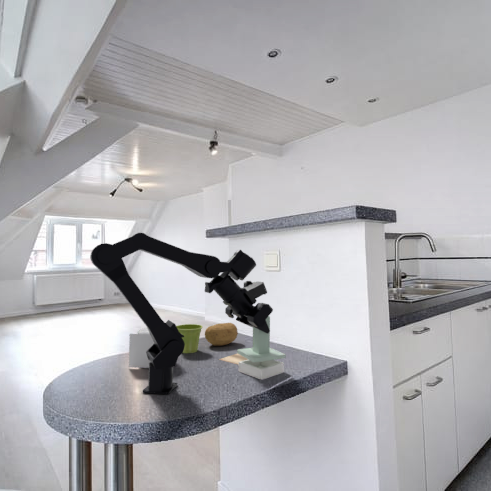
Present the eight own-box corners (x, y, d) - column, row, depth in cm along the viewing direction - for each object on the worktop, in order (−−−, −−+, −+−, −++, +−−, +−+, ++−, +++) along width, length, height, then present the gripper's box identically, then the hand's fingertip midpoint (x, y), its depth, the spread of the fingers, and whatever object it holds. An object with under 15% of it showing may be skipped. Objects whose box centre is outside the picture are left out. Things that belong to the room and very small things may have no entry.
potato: (197, 346, 123) (198, 324, 123) (226, 340, 132) (227, 320, 133) (213, 351, 116) (214, 328, 116) (243, 345, 125) (243, 323, 126)
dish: (261, 381, 87) (261, 369, 87) (238, 372, 93) (238, 362, 93) (283, 373, 93) (283, 362, 93) (260, 366, 99) (260, 356, 100)
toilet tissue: (178, 360, 105) (179, 328, 106) (159, 371, 93) (160, 335, 94) (148, 357, 108) (149, 326, 108) (126, 368, 96) (127, 333, 97)
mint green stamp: (253, 362, 87) (254, 319, 87) (237, 353, 95) (237, 314, 96) (285, 358, 91) (286, 317, 92) (267, 349, 100) (267, 312, 101)
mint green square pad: (245, 367, 98) (245, 366, 98) (218, 360, 105) (218, 359, 105) (267, 359, 106) (267, 358, 106) (240, 353, 113) (240, 352, 113)
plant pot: (196, 356, 109) (197, 329, 110) (169, 354, 111) (170, 328, 111) (205, 349, 118) (206, 324, 119) (180, 347, 120) (181, 323, 121)
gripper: (266, 272, 85) (301, 314, 89) (235, 271, 101) (266, 306, 105) (238, 305, 81) (276, 347, 85) (210, 297, 97) (243, 333, 101)
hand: (265, 331), depth 94 cm, fingers closed on mint green stamp, 3 cm apart
